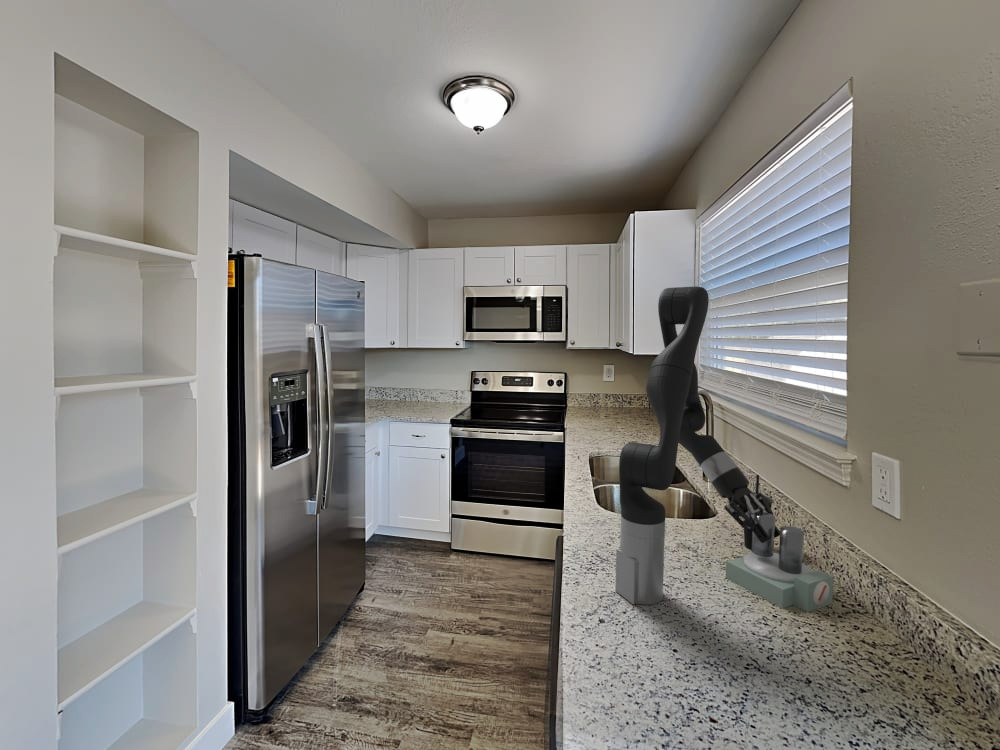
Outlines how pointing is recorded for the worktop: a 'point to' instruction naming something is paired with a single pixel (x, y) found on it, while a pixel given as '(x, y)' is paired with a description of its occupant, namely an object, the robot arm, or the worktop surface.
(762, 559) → the kitchen scale
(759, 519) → the steel weight
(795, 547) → the steel weight
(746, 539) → the drinking cup
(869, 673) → the worktop surface
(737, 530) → the worktop surface
